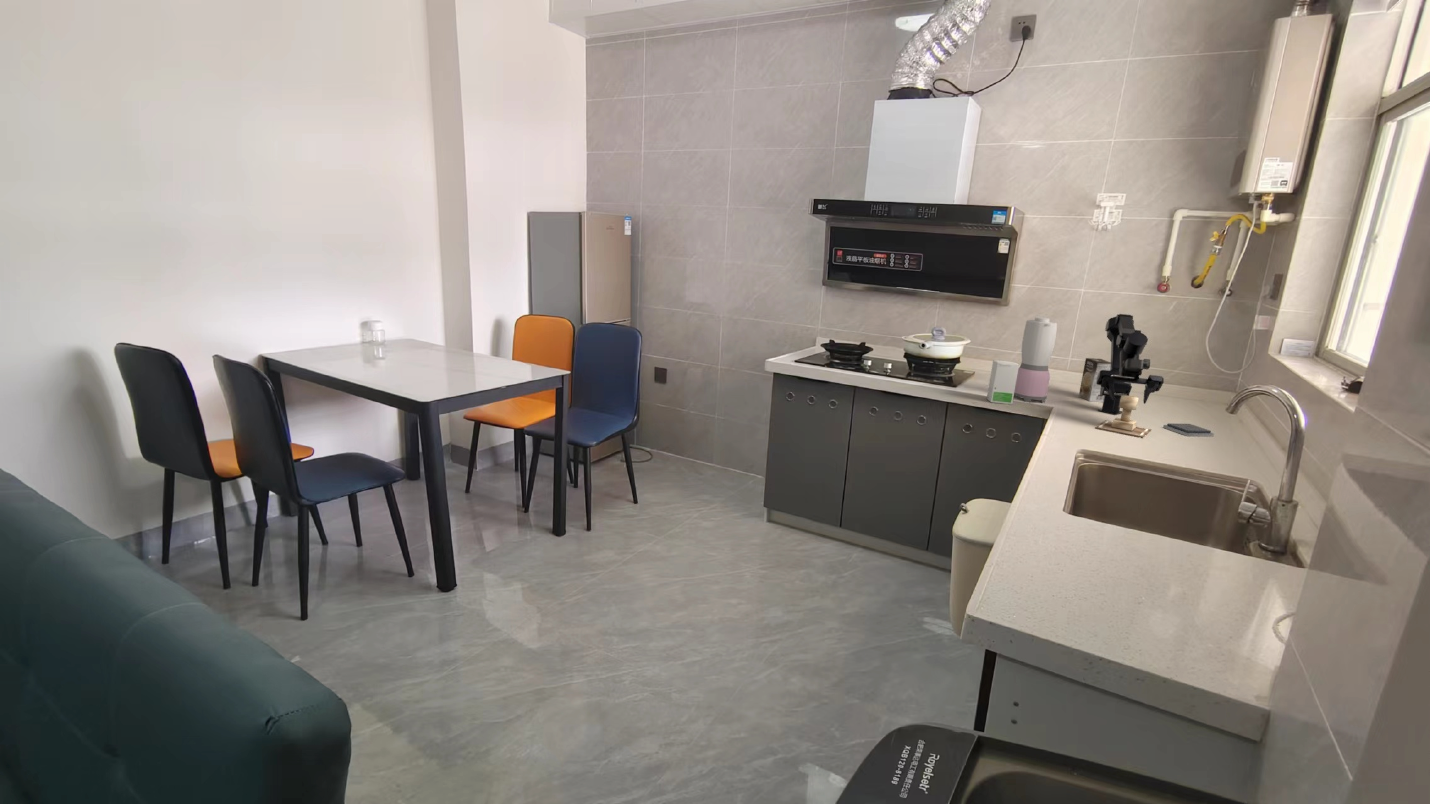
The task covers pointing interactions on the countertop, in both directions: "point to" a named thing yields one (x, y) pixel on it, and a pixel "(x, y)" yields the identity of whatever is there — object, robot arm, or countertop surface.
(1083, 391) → the coffee box
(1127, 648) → the countertop surface
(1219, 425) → the countertop surface
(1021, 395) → the blender
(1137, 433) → the stamp board
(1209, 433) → the ink pad
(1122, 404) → the rubber stamp
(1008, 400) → the skincare box
